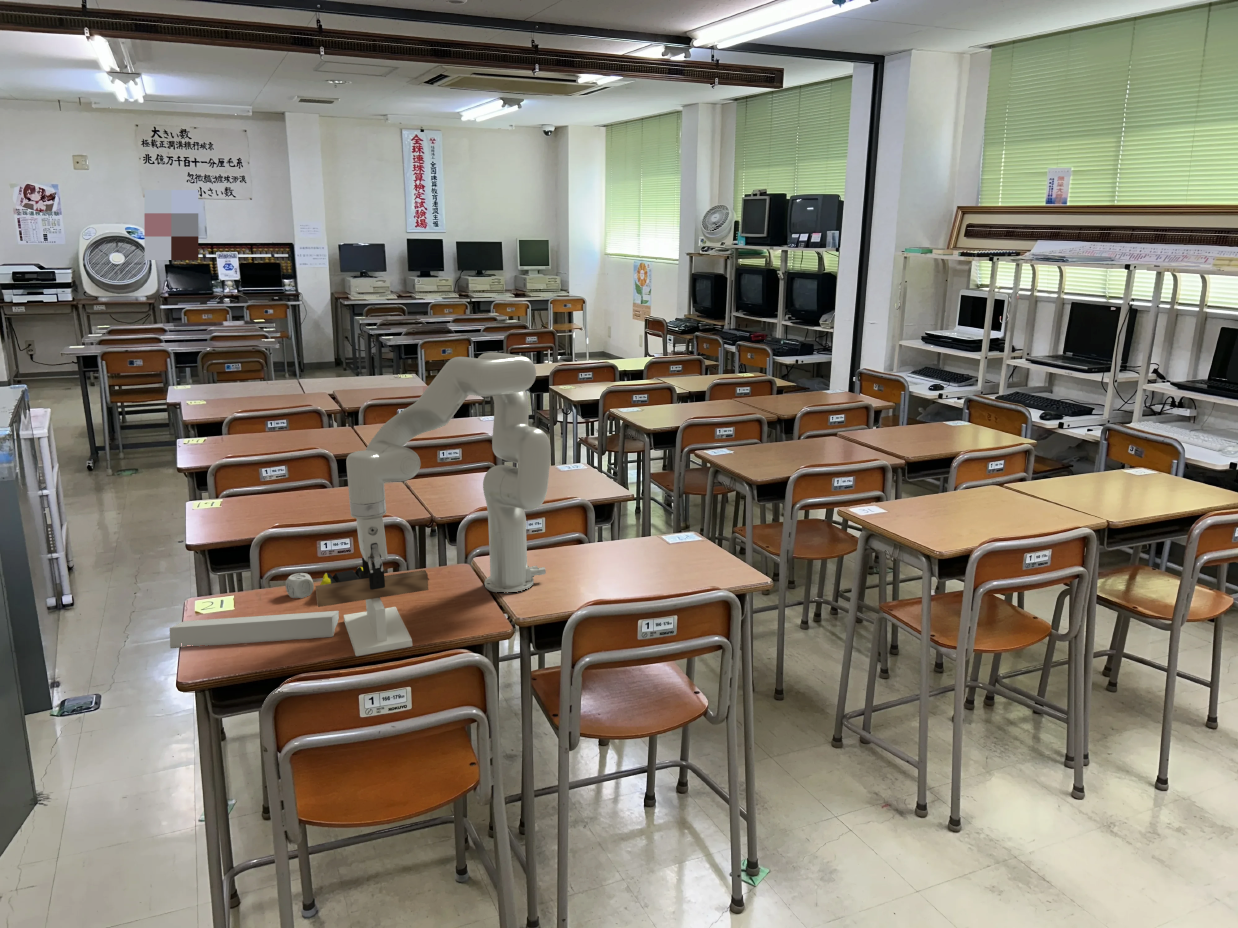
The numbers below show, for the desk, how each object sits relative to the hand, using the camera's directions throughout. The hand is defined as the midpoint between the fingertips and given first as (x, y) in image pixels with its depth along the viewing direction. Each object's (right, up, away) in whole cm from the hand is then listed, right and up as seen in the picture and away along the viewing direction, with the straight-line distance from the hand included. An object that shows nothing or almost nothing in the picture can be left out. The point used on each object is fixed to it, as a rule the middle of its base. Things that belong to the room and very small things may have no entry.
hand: (374, 580), depth 197 cm
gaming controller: (-14, -6, +28) cm, 32 cm away
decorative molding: (-27, -13, +4) cm, 30 cm away
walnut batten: (0, -4, +1) cm, 4 cm away
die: (-25, -7, +25) cm, 36 cm away
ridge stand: (0, -12, +3) cm, 13 cm away
